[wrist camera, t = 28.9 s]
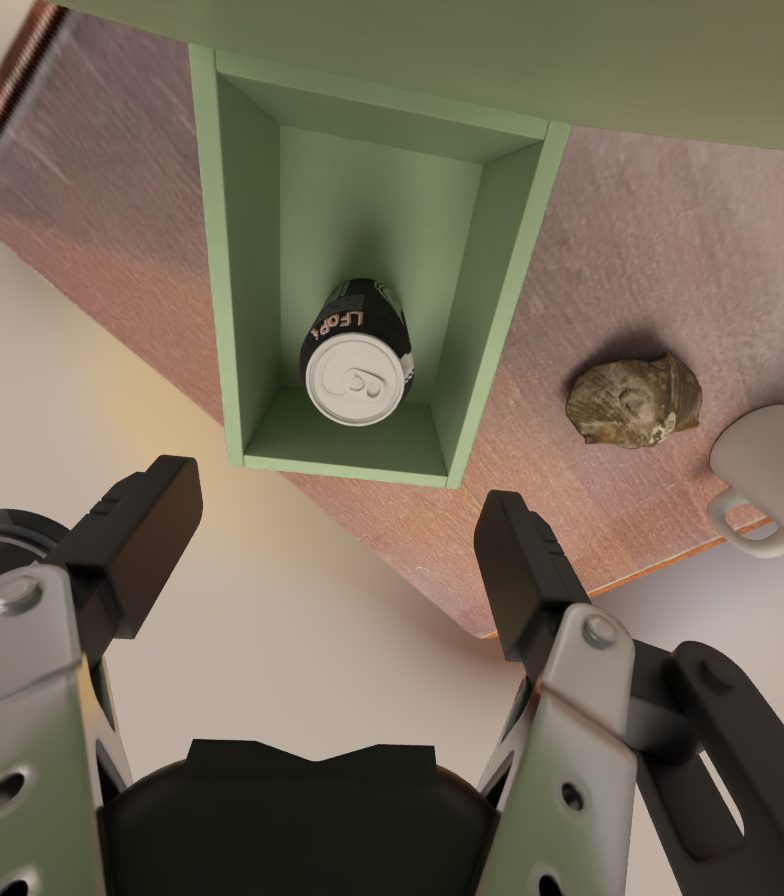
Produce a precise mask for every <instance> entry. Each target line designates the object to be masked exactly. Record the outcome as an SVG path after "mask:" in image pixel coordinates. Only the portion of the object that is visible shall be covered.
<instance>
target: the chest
mask: <svg viewBox="0 0 784 896" xmlns="http://www.w3.org/2000/svg"><path fill="white" fill-rule="evenodd" d="M188 50H189V61H190V71H191V82H192V92H193V103H194V113H195V124H196V134H197V145H198V155H199V166H200V176H201V187H202V197H203V208H204V218H205V229H206V239H207V250H208V260H209V271H210V281H211V292H212V302H213V313H214V323H215V334H216V344H217V354H218V365H219V375H220V386H221V396H222V407H223V417H224V428H225V438H226V449H227V459H228V465H229V466H238V467H247V468H257V469H267V470H276V471H286V472H295V473H305V474H315V475H325V476H334V477H344V478H354V479H363V480H373V481H383V482H392V483H402V484H412V485H421V486H431V487H441V488H449V489H459V488H460V485H461V481H462V478H463V475H464V472H465V468H466V465H467V462H468V459H469V456H470V452H471V449H472V446H473V443H474V440H475V436H476V433H477V430H478V427H479V423H480V420H481V417H482V414H483V411H484V407H485V404H486V401H487V398H488V395H489V391H490V388H491V385H492V382H493V378H494V375H495V372H496V369H497V366H498V362H499V359H500V356H501V353H502V350H503V346H504V343H505V340H506V337H507V333H508V330H509V327H510V324H511V321H512V317H513V314H514V311H515V308H516V305H517V301H518V298H519V295H520V292H521V288H522V285H523V282H524V279H525V276H526V272H527V269H528V266H529V263H530V260H531V256H532V253H533V250H534V247H535V243H536V240H537V237H538V234H539V231H540V227H541V224H542V221H543V218H544V215H545V211H546V208H547V205H548V202H549V198H550V195H551V192H552V189H553V186H554V182H555V179H556V176H557V173H558V169H559V166H560V163H561V160H562V157H563V153H564V150H565V147H566V144H567V141H568V137H569V134H570V131H571V128H572V125H570V124H566V123H561V122H556V121H552V120H547V119H542V118H538V117H533V116H528V115H523V114H519V113H514V112H509V111H505V110H500V109H495V108H491V107H486V106H481V105H476V104H472V103H467V102H462V101H458V100H453V99H448V98H444V97H439V96H434V95H430V94H425V93H420V92H415V91H411V90H406V89H401V88H397V87H392V86H387V85H383V84H378V83H373V82H368V81H364V80H359V79H354V78H350V77H345V76H340V75H336V74H331V73H326V72H321V71H317V70H312V69H307V68H303V67H298V66H293V65H289V64H284V63H279V62H274V61H270V60H265V59H260V58H256V57H251V56H246V55H242V54H237V53H232V52H228V51H223V50H218V49H213V48H209V47H204V46H199V45H195V44H190V43H188ZM357 278H368V279H373V280H376V281H379V282H381V283H382V284H384V285H386V286H387V287H388V288H389V289H391V290H392V291H393V292H394V294H395V295H396V296H397V298H398V299H399V301H400V303H401V305H402V309H403V312H404V316H405V321H406V325H407V329H408V334H409V338H410V342H411V347H412V351H413V355H414V364H415V371H414V379H413V383H412V386H411V388H410V391H409V393H408V394H407V396H406V398H405V399H404V401H403V402H402V403H401V404H400V405H399V406H398V407H397V408H396V409H395V410H394V411H392V412H391V414H389V415H388V416H387V417H385V418H384V419H382V420H380V421H378V422H376V423H373V424H370V425H365V426H348V425H344V424H340V423H338V422H336V421H333V420H331V419H330V418H328V417H327V416H325V415H324V414H323V413H322V412H321V411H319V410H318V409H317V407H316V406H315V405H314V403H313V402H312V400H311V398H310V397H309V396H308V394H307V393H306V390H305V388H304V386H303V384H302V381H301V377H300V372H299V356H300V351H301V347H302V344H303V342H304V340H305V337H306V336H307V334H308V332H309V330H310V329H311V327H312V325H313V323H314V322H315V320H316V318H317V316H318V315H319V313H320V311H321V309H322V308H323V306H324V304H325V302H326V301H327V299H328V297H329V296H330V294H331V293H332V292H333V291H334V290H335V289H336V288H337V287H338V286H339V285H341V284H342V283H344V282H346V281H349V280H352V279H357Z"/></svg>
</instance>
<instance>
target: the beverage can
mask: <svg viewBox="0 0 784 896" xmlns="http://www.w3.org/2000/svg"><path fill="white" fill-rule="evenodd" d="M414 371H415V364H414V355H413V351H412V347H411V342H410V338H409V334H408V329H407V325H406V321H405V316H404V312H403V309H402V305H401V303H400V301H399V299H398V298H397V296H396V295H395V294H394V292H393V291H392V290H391V289H389V288H388V287H387V286H386V285H384V284H382V283H381V282H379V281H376V280H373V279H368V278H357V279H352V280H349V281H346V282H344V283H342V284H341V285H339V286H338V287H337V288H336V289H335V290H334V291H333V292H332V293H331V294H330V296H329V297H328V299H327V301H326V302H325V304H324V306H323V308H322V309H321V311H320V313H319V315H318V316H317V318H316V320H315V322H314V323H313V325H312V327H311V329H310V330H309V332H308V334H307V336H306V337H305V340H304V342H303V344H302V347H301V351H300V356H299V372H300V377H301V381H302V384H303V386H304V388H305V390H306V393H307V394H308V396H309V397H310V398H311V400H312V402H313V403H314V405H315V406H316V407H317V409H318V410H319V411H321V412H322V413H323V414H324V415H325V416H327V417H328V418H330V419H331V420H333V421H336V422H338V423H340V424H344V425H348V426H365V425H370V424H373V423H376V422H378V421H380V420H382V419H384V418H385V417H387V416H388V415H389V414H391V412H392V411H394V410H395V409H396V408H397V407H398V406H399V405H400V404H401V403H402V402H403V401H404V399H405V398H406V396H407V394H408V393H409V391H410V388H411V386H412V383H413V379H414Z"/></svg>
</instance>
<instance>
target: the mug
mask: <svg viewBox="0 0 784 896" xmlns="http://www.w3.org/2000/svg"><path fill="white" fill-rule="evenodd" d="M710 466H711V469H712V471H713V473H714V474H715V475H716V476H717V477H718V478H719V479H720V480H721V481H723V482H724V483H725V484H727V485H728V486H729V488H727V489H726V490H724V491H723V492H721V493H720V494H718V495H717V496H716V497H714V498H713V499H712V500H711V501H710V502H709V504H708V506H707V515H708V517H709V519H710V521H711V523H712V525H713V526H714V527H715V528H716V530H717V531H718V532H719V533H720V534H721V535H722V536H723V537H724V538H725V539H726V540H727V541H729V542H730V543H731V544H732V545H734V546H735V547H737V548H738V549H740V550H741V551H743V552H745V553H747V554H749V555H752V556H754V557H759V558H774V557H778V556H781V555H784V404H779V405H772V406H767V407H764V408H760V409H758V410H755V411H753V412H751V413H749V414H747V415H745V416H743V417H742V418H740V419H739V420H737V421H736V422H734V423H733V424H732V425H731V426H729V427H728V428H727V429H726V430H725V431H724V432H723V433H722V435H721V436H720V437H719V438H718V440H717V441H716V443H715V444H714V446H713V449H712V451H711V455H710ZM742 504H750V505H752V506H754V507H755V508H757V509H758V510H759V511H761V512H762V513H764V514H765V515H766V516H767V517H769V518H770V519H771V520H772V521H774V522H775V523H776V524H777V525H778V526H779V528H778V530H777V531H776V532H775V533H774V534H772V535H771V536H769V537H768V538H766V539H763V540H757V541H756V540H750V539H746V538H744V537H742V536H741V535H739V534H738V533H736V532H735V531H734V530H733V529H732V528H731V527H730V526H729V525H728V524H727V522H726V520H725V515H726V513H727V512H728V511H729V510H730V509H732V508H734V507H736V506H739V505H742Z"/></svg>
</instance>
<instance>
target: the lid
mask: <svg viewBox="0 0 784 896" xmlns="http://www.w3.org/2000/svg"><path fill="white" fill-rule="evenodd" d="M43 1H46V2H50V3H53V4H56V5H60V6H63V7H67V8H70V9H73V10H77V11H80V12H83V13H87V14H90V15H94V16H97V17H100V18H104V19H107V20H111V21H114V22H117V23H121V24H124V25H127V26H131V27H134V28H138V29H141V30H144V31H148V32H151V33H154V34H158V35H161V36H165V37H168V38H171V39H175V40H178V41H182V42H185V43H190V44H195V45H199V46H204V47H209V48H213V49H218V50H223V51H228V52H232V53H237V54H242V55H246V56H251V57H256V58H260V59H265V60H270V61H274V62H279V63H284V64H289V65H293V66H298V67H303V68H307V69H312V70H317V71H321V72H326V73H331V74H336V75H340V76H345V77H350V78H354V79H359V80H364V81H368V82H373V83H378V84H383V85H387V86H392V87H397V88H401V89H406V90H411V91H415V92H420V93H425V94H430V95H434V96H439V97H444V98H448V99H453V100H458V101H462V102H467V103H472V104H476V105H481V106H486V107H491V108H495V109H500V110H505V111H509V112H514V113H519V114H523V115H528V116H533V117H538V118H542V119H547V120H552V121H556V122H561V123H566V124H570V125H575V126H584V127H592V128H600V129H609V130H617V131H625V132H634V133H642V134H650V135H659V136H667V137H675V138H684V139H692V140H700V141H709V142H717V143H725V144H734V145H742V146H750V147H759V148H767V149H775V150H784V0H43Z"/></svg>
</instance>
